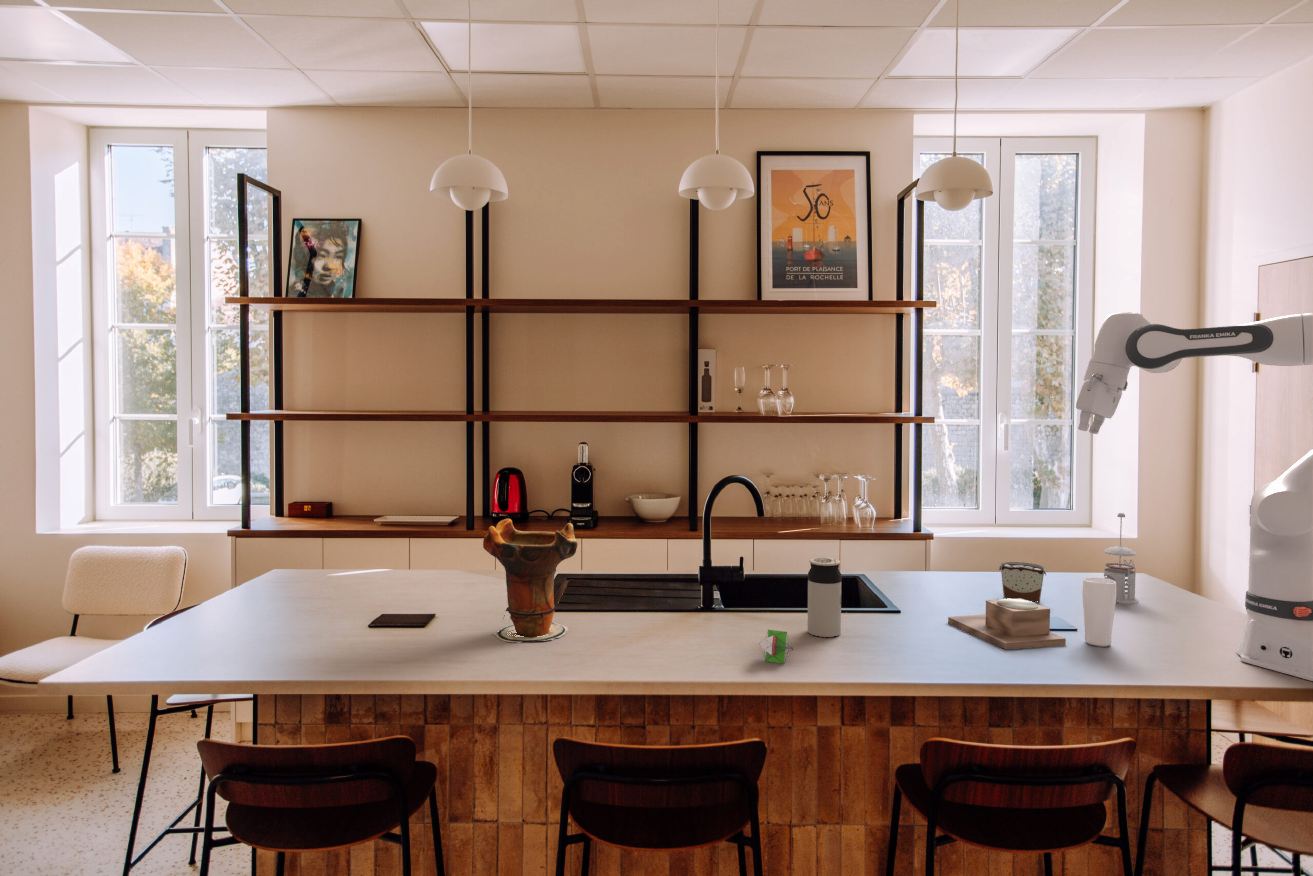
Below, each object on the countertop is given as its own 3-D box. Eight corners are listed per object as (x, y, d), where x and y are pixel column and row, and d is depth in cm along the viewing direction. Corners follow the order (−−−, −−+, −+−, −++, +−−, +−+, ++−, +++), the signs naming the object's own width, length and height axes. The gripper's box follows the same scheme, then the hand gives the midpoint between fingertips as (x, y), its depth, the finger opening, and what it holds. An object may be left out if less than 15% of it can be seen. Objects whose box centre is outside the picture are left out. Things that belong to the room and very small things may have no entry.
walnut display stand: (1065, 644, 175) (1066, 611, 175) (1006, 649, 172) (1006, 616, 171) (1002, 618, 197) (1002, 589, 196) (948, 622, 193) (948, 592, 193)
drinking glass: (1119, 649, 172) (1121, 584, 172) (1087, 647, 174) (1089, 583, 173) (1108, 640, 179) (1109, 577, 178) (1077, 638, 180) (1078, 576, 180)
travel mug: (805, 636, 182) (805, 562, 181) (810, 627, 190) (810, 556, 189) (838, 639, 179) (839, 565, 179) (842, 630, 187) (843, 558, 186)
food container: (1047, 598, 217) (1048, 564, 217) (1045, 603, 212) (1046, 568, 212) (1001, 593, 224) (1001, 559, 223) (998, 597, 219) (998, 563, 218)
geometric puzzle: (766, 642, 171) (761, 620, 166) (796, 645, 168) (792, 623, 163) (760, 669, 166) (754, 647, 161) (791, 673, 163) (786, 651, 158)
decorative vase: (581, 642, 176) (574, 523, 174) (481, 650, 174) (474, 530, 173) (583, 618, 196) (577, 511, 195) (494, 624, 195) (488, 517, 194)
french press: (1128, 595, 221) (1130, 510, 220) (1149, 605, 210) (1152, 516, 209) (1092, 594, 222) (1095, 510, 221) (1112, 604, 211) (1115, 516, 210)
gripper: (1108, 374, 175) (1089, 431, 176) (1129, 385, 189) (1112, 438, 191) (1079, 369, 179) (1061, 425, 181) (1102, 380, 194) (1085, 432, 195)
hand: (1087, 432), depth 186 cm, fingers open, 8 cm apart
